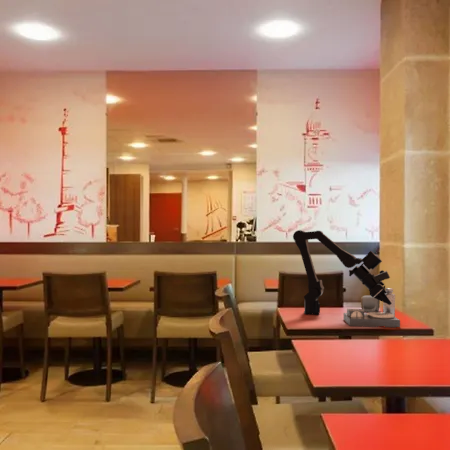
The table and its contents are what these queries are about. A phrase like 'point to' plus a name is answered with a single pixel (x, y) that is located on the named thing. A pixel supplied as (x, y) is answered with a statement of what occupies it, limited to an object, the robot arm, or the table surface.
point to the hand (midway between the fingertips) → (391, 302)
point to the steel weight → (391, 297)
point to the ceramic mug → (369, 304)
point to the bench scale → (370, 319)
